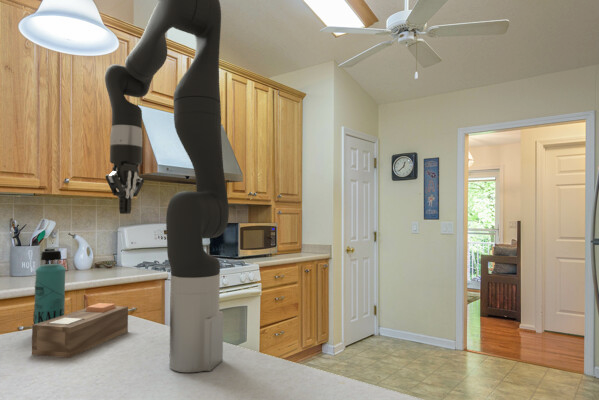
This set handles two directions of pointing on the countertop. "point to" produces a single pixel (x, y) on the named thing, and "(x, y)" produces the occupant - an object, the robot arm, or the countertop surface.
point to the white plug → (65, 321)
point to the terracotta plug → (101, 307)
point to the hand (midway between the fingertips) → (125, 213)
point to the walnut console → (78, 332)
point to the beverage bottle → (49, 289)
